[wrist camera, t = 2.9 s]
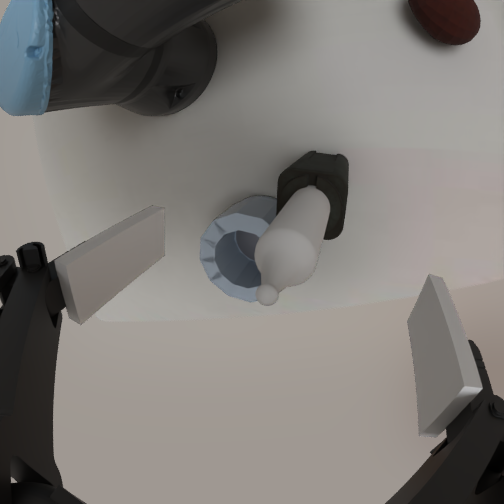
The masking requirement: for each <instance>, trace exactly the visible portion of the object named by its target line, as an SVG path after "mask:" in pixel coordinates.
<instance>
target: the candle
mask: <svg viewBox="0 0 504 504" xmlns="http://www.w3.org/2000/svg"><path fill="white" fill-rule="evenodd" d="M348 171H349V164H348V160H347V159H346V157H345V156H343V155H341V154H337V155H331V154H323V153H316V151H310V152H308V153H307V154H305V155H304V156H303V157H301V158H300V159H299V160H297V161H296V162H295V163H293V164H292V165H291V166H290V167H288V168H287V169H286V170H284V171H283V172H282V173H281V174H280V176H279V178H278V187H277V207H276V218H275V219H274V220H273V221H272V223H271V224H270V225H269V227H268V228H267V229H266V231H265V232H264V233H263V235H262V236H261V237H260V238H259V240H258V242H257V244H256V248H255V254H254V255H255V262H256V265H257V268H258V269H259V271H260V272H261V285H260V286H259V287H258V288H257V290H256V293H255V294H256V299H257V301H258V302H259V303H260V304H262V305H265V306H270V305H273V304H274V303H276V301H277V300H278V293H279V292H281V291H282V290H283V289H285V288H286V287H290V286H296V285H299V284H301V283H304V282H305V281H306V280H307V279H309V278H310V277H311V275H312V274H313V272H314V271H315V268H316V265H317V262H318V258H319V254H320V250H321V246H322V242H323V239H324V240H331V239H334V238H336V237H338V236H339V235H340V234H341V232H342V230H343V226H344V219H345V211H346V204H347V196H348Z"/></svg>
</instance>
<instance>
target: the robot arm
mask: <svg viewBox="0 0 504 504" xmlns="http://www.w3.org/2000/svg"><path fill="white" fill-rule="evenodd" d="M239 1H242V0H11V2H10V4H9V5H8V7H7V9H6V11H5V13H4V16H3V18H2V21H1V24H0V107H1V108H2V109H3V110H4V111H5V112H7V113H8V114H9V115H13V116H23V115H42V114H44V113H45V112H51V111H58V110H64V109H72V108H80V107H89V106H99V105H109V104H116V105H119V106H121V107H123V108H126V109H128V110H130V111H132V112H135V113H137V114H141V115H146V116H159V115H168V114H172V113H175V112H178V111H180V110H182V109H184V108H186V107H187V106H189V105H190V104H191V103H192V102H194V101H195V100H196V99H197V98H198V97H199V96H200V95H201V93H202V92H203V91H204V89H205V88H206V86H207V85H208V83H209V81H210V79H211V77H212V75H213V72H214V69H215V65H216V59H217V45H216V40H215V37H214V34H213V32H212V30H211V28H210V27H209V25H208V24H207V23H206V22H205V21H204V20H203V19H204V18H206V17H208V16H210V15H212V14H214V13H216V12H218V11H220V10H222V9H224V8H226V7H228V6H230V5H233V4H235V3H237V2H239ZM164 214H165V208H162V207H158V206H153V205H152V206H150V207H148V208H146V209H144V210H142V211H140V212H139V213H137V214H135V215H133V216H131V217H129V218H127V219H125V220H123V221H121V222H120V223H118V224H116V225H114V226H112V227H110V228H109V229H107V230H105V231H103V232H101V233H100V234H98V235H96V236H94V237H93V238H91V239H89V240H87V241H84V242H83V243H81V244H79V245H78V246H77V247H74V248H72V249H71V250H70V251H67V252H66V253H64V254H62V255H61V256H59V257H57V258H56V259H54V260H53V261H51V262H49V263H48V261H47V257H46V252H45V247H44V245H43V244H42V243H40V242H31V243H27V244H25V245H23V246H21V247H20V248H18V249H17V251H16V252H17V256H18V260H19V264H20V267H16V264H15V260H14V258H13V257H12V256H10V255H6V256H5V255H3V256H0V299H1V302H2V304H3V305H2V307H1V308H0V504H86V503H85V502H83V501H81V500H80V499H78V498H77V497H76V496H74V495H73V494H71V493H70V492H68V491H67V490H66V489H64V488H63V484H62V479H61V475H60V472H59V470H58V468H57V466H56V464H55V460H54V454H53V399H54V383H55V370H56V360H57V352H58V344H59V336H60V330H61V323H62V313H61V310H62V309H63V308H65V307H66V309H67V312H68V316H69V318H70V319H72V320H74V321H75V322H77V323H79V324H80V325H82V324H83V323H84V322H85V321H86V320H87V319H88V318H90V317H91V316H92V315H93V314H94V313H95V312H97V311H98V310H99V309H100V308H101V307H103V306H104V305H105V304H106V303H107V302H108V301H110V300H111V299H112V298H113V297H114V296H116V295H117V294H118V293H119V292H120V291H122V290H123V289H124V288H125V287H126V286H128V285H129V284H130V283H131V282H133V281H134V280H135V279H136V278H137V277H139V276H140V275H141V274H142V273H144V272H145V271H146V270H147V269H149V268H150V267H151V266H152V265H154V264H155V263H156V262H157V261H159V260H160V259H161V258H162V257H164V256H165V226H164ZM407 323H408V329H409V336H410V342H411V348H412V356H413V364H414V372H415V382H416V393H417V407H418V424H419V425H418V427H419V436H424V437H437V436H438V435H439V434H440V433H441V432H443V431H444V430H445V429H446V433H447V438H445V439H444V440H443V441H442V442H441V443H440V444H439V445H438V446H436V447H435V448H434V449H433V450H432V451H431V452H430V453H431V454H432V455H431V456H430V457H429V458H428V459H427V460H426V462H425V463H424V464H423V465H422V466H421V467H420V468H419V470H418V471H417V472H416V473H415V474H414V475H413V476H412V477H411V478H410V480H409V481H408V482H407V483H406V484H405V485H404V486H403V487H402V488H401V489H400V490H399V491H398V492H397V493H396V494H395V495H394V496H393V497H392V498H391V499H390V500H388V501H387V502H386V503H385V504H504V400H503V399H502V398H500V397H499V396H497V395H494V394H493V391H492V388H491V384H490V381H489V377H488V374H487V371H486V369H485V365H484V362H483V361H482V360H483V359H482V356H481V353H480V351H479V349H478V347H477V346H476V345H475V344H474V342H473V341H472V340H468V339H467V336H466V333H465V331H464V328H463V325H462V323H461V320H460V318H459V315H458V313H457V310H456V308H455V305H454V303H453V300H452V298H451V296H450V294H449V291H448V289H447V287H446V284H445V282H444V280H443V278H442V277H438V276H435V275H431V274H429V275H428V277H427V279H426V282H425V284H424V286H423V289H422V291H421V293H420V295H419V298H418V300H417V302H416V304H415V306H414V308H413V310H412V312H411V314H410V317H409V319H408V321H407ZM11 477H12V478H14V479H15V480H16V481H17V483H11Z"/></svg>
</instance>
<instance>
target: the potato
mask: <svg viewBox="0 0 504 504" xmlns="http://www.w3.org/2000/svg"><path fill="white" fill-rule="evenodd" d="M408 2H409V4H410V7H411V9H412V11H413V13H414V15H415V17H416V18H417V19H418V21H419V22H420V24H421V25H422V27H423V28H424V29H425V30H426V31H427V32H428V33H429V34H430V35H431V36H432V37H433V38H434V39H437V40H439V41H441V42H443V43H446V44H451V45H462V44H465V43H467V42H469V41H471V40H472V39H473V38H474V37H475V35H476V34H477V33H478V31H479V28H480V21H481V20H480V14H479V10H478V7H477V5H476V3H475V2H474V0H408Z"/></svg>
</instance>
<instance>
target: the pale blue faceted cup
mask: <svg viewBox="0 0 504 504" xmlns="http://www.w3.org/2000/svg"><path fill="white" fill-rule="evenodd" d="M276 207H277V199H276V198H273V197H270V196H264V195H258V196H252V197H248V198H246V199H244V200H242V201H240V202H239V203H236V204H234V205H233V206H231V207H230V208H229V209H227V210H226V211H225V212H224V213H222V214H221V215H220V216H218V217H217V218H216V219H215V220H213V222H212V223H211V224H210V226H209V227H208V229H207V230H206V231H205V233H204V234H203V235H202V237H201V245H200V261H201V263H202V265H203V267H204V269H205V271H206V273H207V275H208V277H209V279H210V281H211V282H212V283H214V284H215V285H216V286H217V287H218V288H220V289H221V290H222V291H223V292H224V293H225V294H227V295H228V296H231V297H234V298H238V299H241V300H244V301H248V302H255V301H257V299H256V294H255V293H256V290H257V288H258V287H259V286H260V285H261V272H260V271H259V269H258V268H257V265H256V262H255V255H254V254H255V248H256V244H257V242H258V240H259V238H260V237H261V236H262V235H263V233H264V232H265V231H266V229H267V228H268V227H269V225H270V224H271V223H272V221H273V220H274V219H275V218H276Z"/></svg>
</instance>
